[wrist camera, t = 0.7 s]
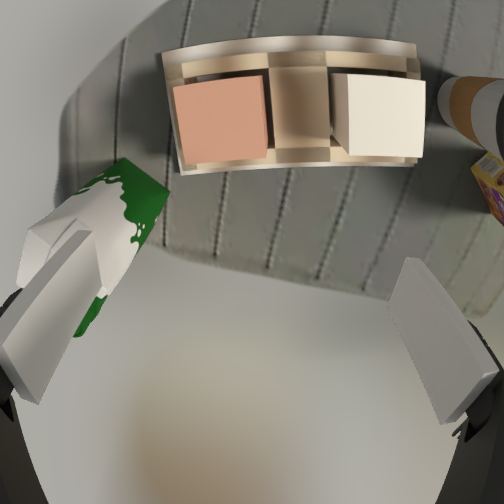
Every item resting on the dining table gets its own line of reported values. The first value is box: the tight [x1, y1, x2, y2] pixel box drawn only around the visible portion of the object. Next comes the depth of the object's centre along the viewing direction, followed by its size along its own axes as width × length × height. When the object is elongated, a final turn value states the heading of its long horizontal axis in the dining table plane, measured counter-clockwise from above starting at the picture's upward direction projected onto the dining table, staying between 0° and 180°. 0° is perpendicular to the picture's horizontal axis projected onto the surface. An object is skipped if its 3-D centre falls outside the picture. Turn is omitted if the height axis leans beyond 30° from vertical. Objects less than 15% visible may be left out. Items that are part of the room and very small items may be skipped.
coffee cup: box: [437, 76, 504, 162], centre depth 20 cm, size 8×8×15 cm
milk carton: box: [16, 158, 170, 337], centre depth 28 cm, size 9×9×20 cm
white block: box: [330, 73, 425, 158], centre depth 22 cm, size 6×6×7 cm
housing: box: [162, 36, 421, 176], centre depth 26 cm, size 26×14×6 cm, turn 95°
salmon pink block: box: [173, 75, 268, 165], centre depth 23 cm, size 6×6×7 cm
